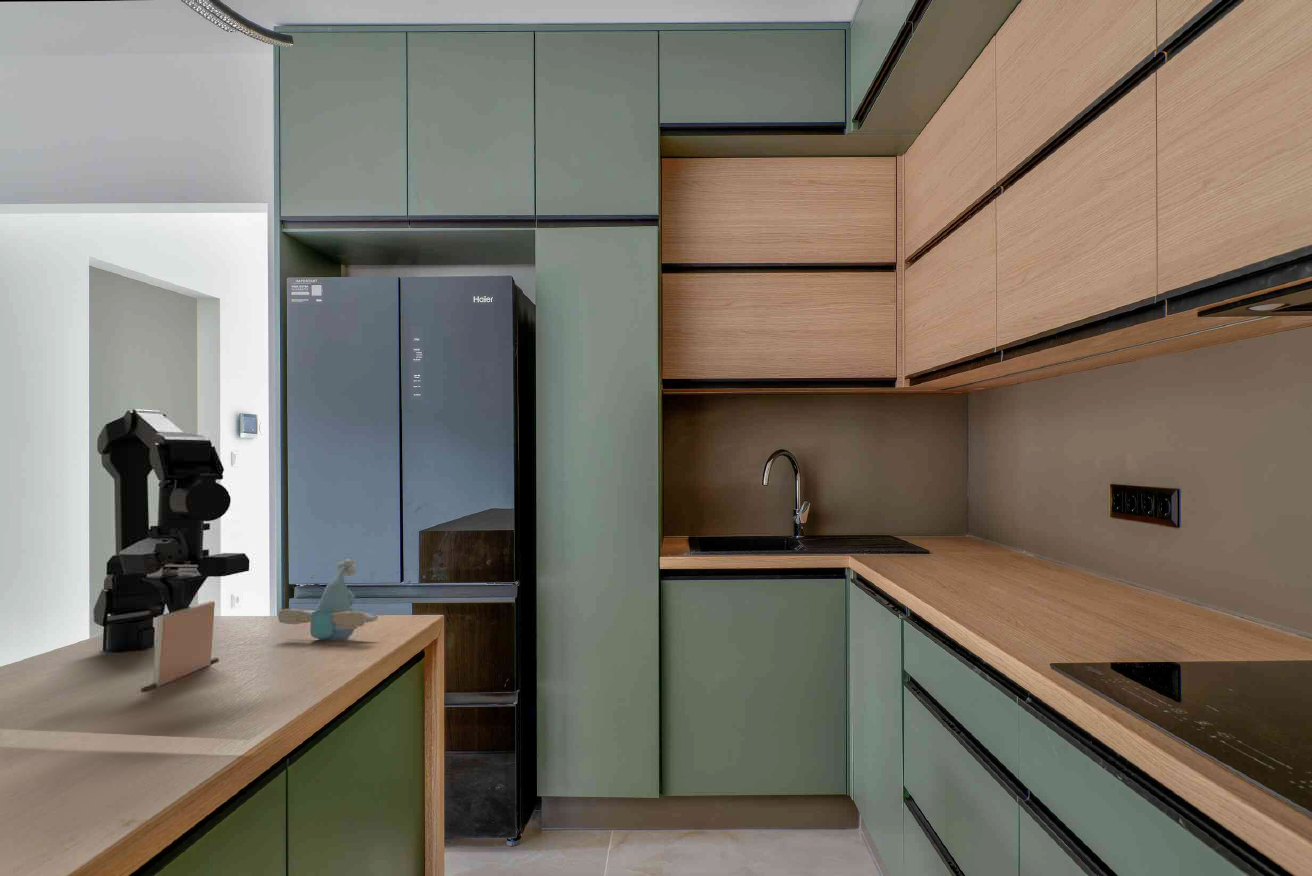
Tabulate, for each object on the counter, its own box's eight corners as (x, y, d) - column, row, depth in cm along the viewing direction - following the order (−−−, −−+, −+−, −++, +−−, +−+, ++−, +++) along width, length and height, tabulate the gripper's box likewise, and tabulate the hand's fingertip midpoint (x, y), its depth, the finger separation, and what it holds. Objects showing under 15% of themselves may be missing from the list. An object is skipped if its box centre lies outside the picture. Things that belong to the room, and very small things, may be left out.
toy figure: (391, 636, 125) (393, 559, 126) (361, 652, 115) (364, 568, 115) (310, 632, 127) (313, 556, 127) (274, 648, 116) (276, 565, 117)
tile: (157, 616, 93) (164, 616, 93) (209, 601, 103) (215, 601, 103) (152, 686, 92) (159, 686, 92) (205, 664, 102) (211, 664, 102)
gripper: (73, 521, 91) (67, 633, 90) (198, 523, 90) (194, 636, 89) (141, 516, 102) (136, 615, 101) (253, 517, 101) (249, 617, 100)
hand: (177, 621), depth 98 cm, fingers closed
